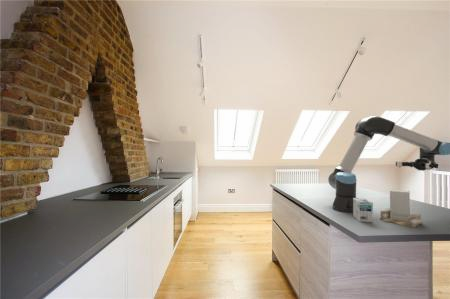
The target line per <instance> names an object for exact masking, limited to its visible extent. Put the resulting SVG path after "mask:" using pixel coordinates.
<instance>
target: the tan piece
mask: <svg viewBox="0 0 450 299" xmlns="http://www.w3.org/2000/svg"><path fill="white" fill-rule="evenodd" d="M421 216H422V215H421V213H417V212H413V213H412V214H410V215H409V220H408V222H405V221H399V220H393V219H391V217H390V207H386V208H384V209H382V210H380V217H379V220H380V221H383V222H388V223H392V224H398V225H400V226H406V227H409V228H416V227H417V226H419V225H420V224H422V221H421V219H422V218H421Z"/></svg>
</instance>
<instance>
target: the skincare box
mask: <svg viewBox="0 0 450 299" xmlns="http://www.w3.org/2000/svg"><path fill="white" fill-rule="evenodd" d="M410 194H411V193H410V190H403V189H401V190H400V189H391V190H390V191H389V201H390V202H389V203H390V204H389V205H390V206H389V208H390V217H391V219H393V220H399V221H405V222H408V220H409V215H411V202H410V201H411V200H410V199H411V198H410Z"/></svg>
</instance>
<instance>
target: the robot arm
mask: <svg viewBox="0 0 450 299" xmlns="http://www.w3.org/2000/svg"><path fill="white" fill-rule="evenodd" d="M354 129H355V130H354V132H353V135H354V137H353V138H352V141H351V143H350V144H349V147H348V148H347V151H345V154H344V156H343V158H342V160H341V162H340V164H339V166H337V167H335V169H334V170H333V172H331V173H330V174H329V175H328V178H327V179H328V180H327V181H328V184H329V186H330V187H331V188H333V189H335V197H334V200H333V203H332V209H333V210H334V211H338V212H345V213H353V198H357V180H358V179H357V175H356V173H355V174H354V173H353V170H354V168H355V166H356V164H357V162H358V160H359V158H360V157H361V155H362V153H363V151H364V149H365V147H366V146H367V144H368V142H370V141H372V140H373V137H375V135H382V136H384V137H387V136H389V137H392V138H395V139H397V140H400V141H402V142H405V143H408V144H409V145H410V144H411V145H412V146H416V147H418V148H419V158H417V159H415V160H414V161H395V166H396V167H397V168H402V167H410V168H414V169H416V170H417V171H422V172H425V170H426V171H427V170H433V169H439V163H437V162H436V160H435V157H436V156H449V155H450V142H446V141H444V142H443V141H440V140H438V139H435V138H432V137H430V136H427V135H424V134H421V133H419V132H416V131H414V130H410V129H408V128H406V127H402V126H400V125H397V124H396V123H395V121H392V120H389V119H386V118H384V117H381V116H378V115H377V116H376V115H373V116H369V117H366V118H363V119H360V120H359V121H358V122H356V124H355V128H354Z"/></svg>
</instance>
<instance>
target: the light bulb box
mask: <svg viewBox="0 0 450 299" xmlns="http://www.w3.org/2000/svg"><path fill="white" fill-rule="evenodd" d="M373 206H374V203H373V202H372V201H370V200H368V199H367V198H358V197H356V198H353V212H352V213H353V214H352V217H353V218H355V220H357V221H358V222H360V223H361V222H363V223H373V222H374V221H373V220H374V217H373V216H374V215H373V214H374V210H373V209H374V208H373Z"/></svg>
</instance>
